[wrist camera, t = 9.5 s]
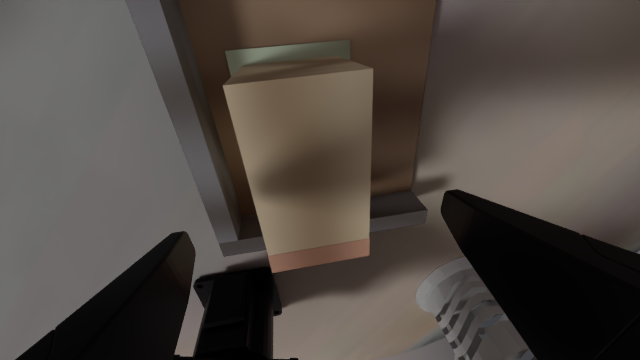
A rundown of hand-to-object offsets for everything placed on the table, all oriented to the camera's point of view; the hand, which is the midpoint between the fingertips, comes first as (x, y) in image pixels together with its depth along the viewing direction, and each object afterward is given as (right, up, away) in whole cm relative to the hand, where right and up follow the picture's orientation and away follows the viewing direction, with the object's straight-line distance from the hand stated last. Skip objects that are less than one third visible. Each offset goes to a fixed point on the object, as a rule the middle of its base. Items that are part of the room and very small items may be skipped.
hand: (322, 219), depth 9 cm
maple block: (-1, +4, +7) cm, 8 cm away
